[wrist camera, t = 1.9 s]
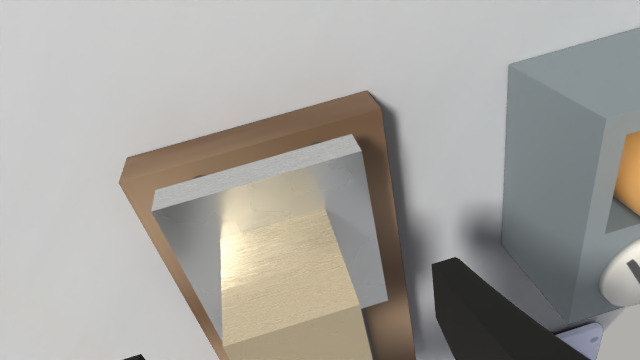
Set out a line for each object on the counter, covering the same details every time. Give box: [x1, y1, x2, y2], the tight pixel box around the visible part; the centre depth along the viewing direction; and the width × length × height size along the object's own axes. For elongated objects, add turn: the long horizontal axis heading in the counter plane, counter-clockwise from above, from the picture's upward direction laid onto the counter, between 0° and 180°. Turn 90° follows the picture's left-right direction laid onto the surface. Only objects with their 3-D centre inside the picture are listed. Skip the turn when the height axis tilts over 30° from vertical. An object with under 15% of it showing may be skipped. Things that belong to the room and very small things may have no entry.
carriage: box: [151, 134, 388, 360], centre depth 12 cm, size 6×6×4 cm
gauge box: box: [501, 28, 640, 325], centre depth 15 cm, size 8×5×5 cm, turn 12°
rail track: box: [119, 91, 416, 360], centre depth 17 cm, size 14×8×2 cm, turn 12°
